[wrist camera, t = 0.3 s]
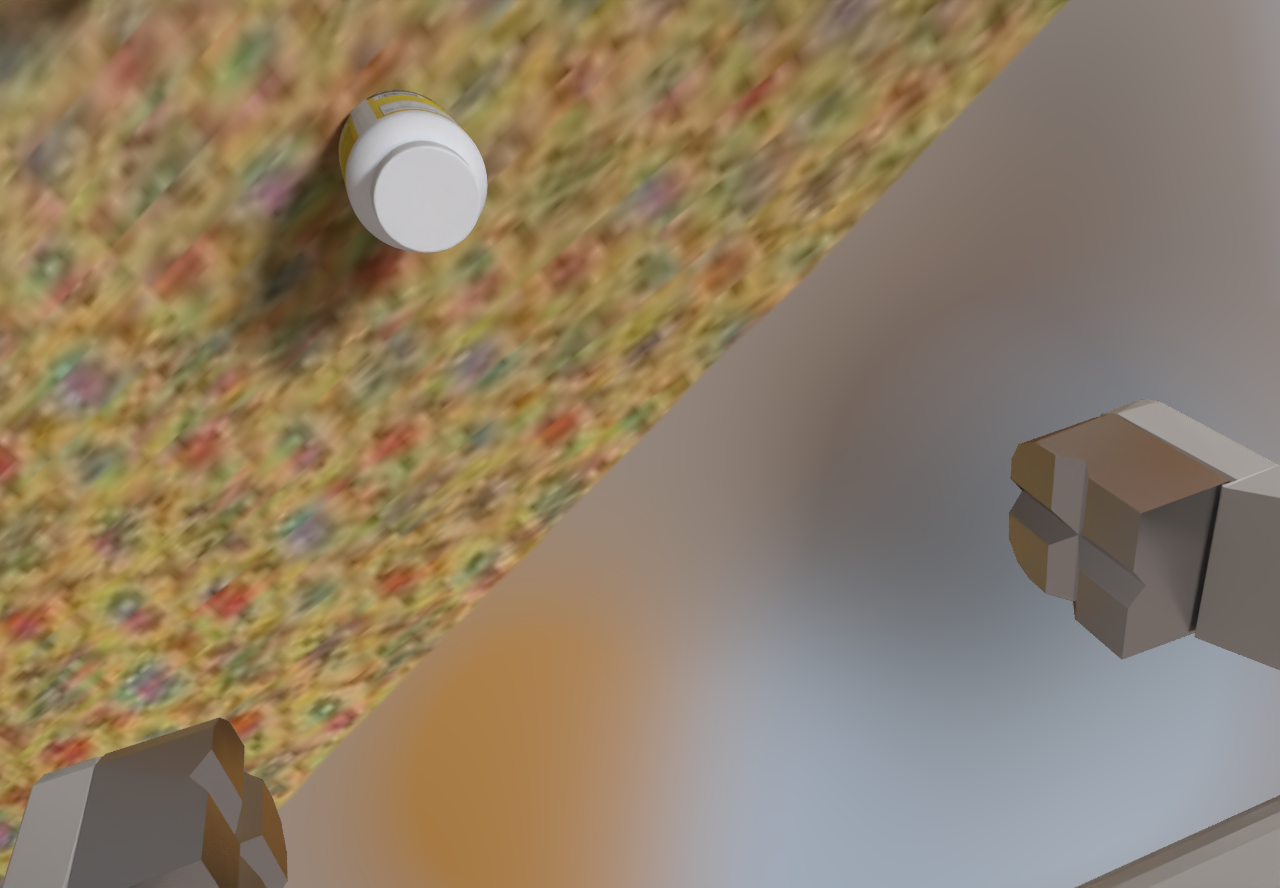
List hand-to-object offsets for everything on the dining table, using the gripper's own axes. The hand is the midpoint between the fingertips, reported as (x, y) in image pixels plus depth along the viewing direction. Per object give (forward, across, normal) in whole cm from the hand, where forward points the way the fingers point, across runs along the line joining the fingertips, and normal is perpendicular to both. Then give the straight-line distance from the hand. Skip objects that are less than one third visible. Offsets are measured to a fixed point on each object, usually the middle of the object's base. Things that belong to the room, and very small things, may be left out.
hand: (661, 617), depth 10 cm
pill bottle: (+47, -1, +5) cm, 47 cm away
